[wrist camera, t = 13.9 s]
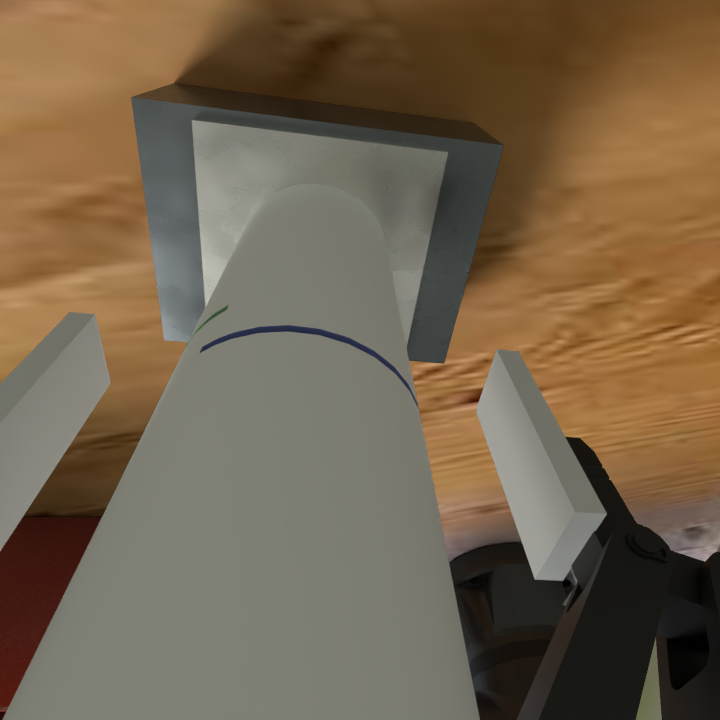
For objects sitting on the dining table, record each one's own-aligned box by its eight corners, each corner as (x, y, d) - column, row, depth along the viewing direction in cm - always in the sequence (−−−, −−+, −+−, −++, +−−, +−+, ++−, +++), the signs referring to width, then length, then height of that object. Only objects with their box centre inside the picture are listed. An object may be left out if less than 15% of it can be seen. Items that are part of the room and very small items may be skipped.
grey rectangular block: (473, 123, 26) (506, 147, 21) (428, 313, 33) (445, 367, 28) (173, 83, 24) (127, 98, 19) (192, 291, 31) (161, 344, 26)
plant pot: (152, 491, 43) (61, 713, 29) (186, 602, 54) (132, 801, 40) (-70, 490, 42) (-273, 718, 28) (11, 603, 53) (-106, 807, 39)
